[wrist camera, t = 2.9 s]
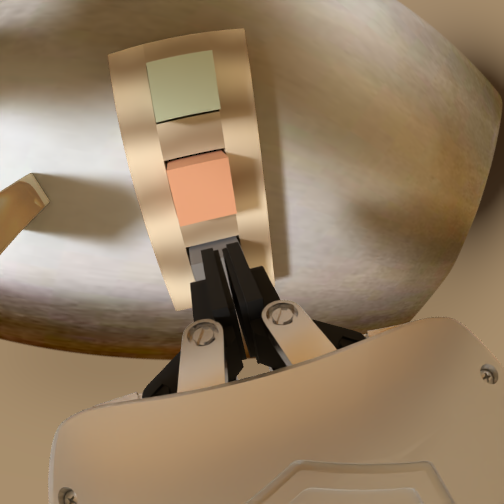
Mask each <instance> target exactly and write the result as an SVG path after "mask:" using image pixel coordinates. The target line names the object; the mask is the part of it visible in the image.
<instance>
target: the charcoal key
mask: <svg viewBox="0 0 504 504" xmlns="http://www.w3.org/2000/svg"><path fill="white" fill-rule="evenodd" d="M234 242H238V240H237V238H236V236H232V237H228V238H224V239H220V240H215V241H211V242H207V243H203V244H199V245H195V246H191V247H189V255H190V263H191V268H192V271H193V275H194V278H195V281H200V280H204V279H205V273H204V267H203V262H202V256H201V250H204V249H208V248H213V251H214V250H218V251H219V254H220V258H221V261H222V265H223V268H224V272H225V275H226V279H227V282H228V286H229V289H230V285H229V280H228V276H227V271H226V266H225V262H224V257H223V252H222V249H223V248H226V244H230V243H234ZM238 243H239V242H238ZM239 245H240V244H239ZM240 247H241V246H240ZM241 249H242V248H241ZM242 252H243V251H242ZM243 254H244V253H243ZM230 293H231V290H230ZM231 296H232V294H231Z"/></svg>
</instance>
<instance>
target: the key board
mask: <svg viewBox="0 0 504 504" xmlns="http://www.w3.org/2000/svg"><path fill="white" fill-rule="evenodd" d="M208 50H212V53H213V60H214V66H215V73H216V80H217V87H218V94H219V100H220V107H221V109H218V110H215V111H213V112H207V113H202V114H197V115H192V116H187V117H182V118H178V119H173V120H169V121H165V122H161V123H158V122H157V123H156V119H155V114H154V108H153V103H152V97H151V91H150V85H149V79H148V72H147V66H146V63H147V62H151V61H156V60H160V59H164V58H169V57H173V56H178V55H184V54H189V53H195V52H201V51H208ZM108 63H109V70H110V77H111V83H112V89H113V95H114V101H115V106H116V111H117V117H118V122H119V126H120V131H121V136H122V140H123V145H124V149H125V153H126V157H127V161H128V165H129V169H130V173H131V177H132V181H133V184H134V188H135V192H136V195H137V199H138V202H139V206H140V209H141V212H142V216H143V219H144V222H145V225H146V229H147V232H148V235H149V238H150V241H151V244H152V247H153V250H154V253H155V256H156V259H157V261H158V264H159V267H160V270H161V273H162V275H163V278H164V281H165V284H166V286H167V289H168V291H169V294H170V297H171V299H172V302H173V304H174V307H175V309H176V311H179V310H183V309H188V308H192V299H191V290H190V283H191V282H196V281H195V278H194V275H193V271H192V268H191V263H190V255H189V251H188V247H191V246H195V245H199V244H203V243H207V242H211V241H215V240H220V239H224V238H228V237H232V236H236V238H237V240H238V242H239V244H240V246H241V248H242V251H243V253H244V256H245V259H246V261H247V263H248V266H249V268H254V267H258V266H263V267H264V269H265V271H266V273H267V275H268V277H269V279H270V281H271V283H272V285H273V287H274V286H275V281H274V271H273V260H272V250H271V240H270V230H269V221H268V211H267V202H266V193H265V184H264V175H263V166H262V158H261V149H260V141H259V133H258V125H257V117H256V109H255V101H254V94H253V86H252V79H251V71H250V64H249V57H248V50H247V43H246V36H245V29H244V28H241V29H228V30H218V31H209V32H201V33H195V34H188V35H183V36H177V37H172V38H167V39H162V40H158V41H154V42H150V43H146V44H142V45H138V46H134V47H131V48H127V49H124V50H121V51H118V52H114V53H111V54H108ZM216 149H221V150H222V151H223V153H224V154H225V155H226V156H227V157H228V159H229V166H230V172H231V178H232V185H233V191H234V197H235V204H236V210H237V214H233V215H228V216H224V217H219V218H215V219H211V220H206V221H202V222H198V223H194V224H190V225H186V226H182V227H180V224H179V221H178V217H177V213H176V209H175V205H174V201H173V197H172V193H171V189H170V184H169V180H168V176H167V172H166V170H167V162H166V160H170V159H175V158H179V157H183V156H187V155H192V154H196V153H201V152H206V151H211V150H216Z"/></svg>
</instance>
